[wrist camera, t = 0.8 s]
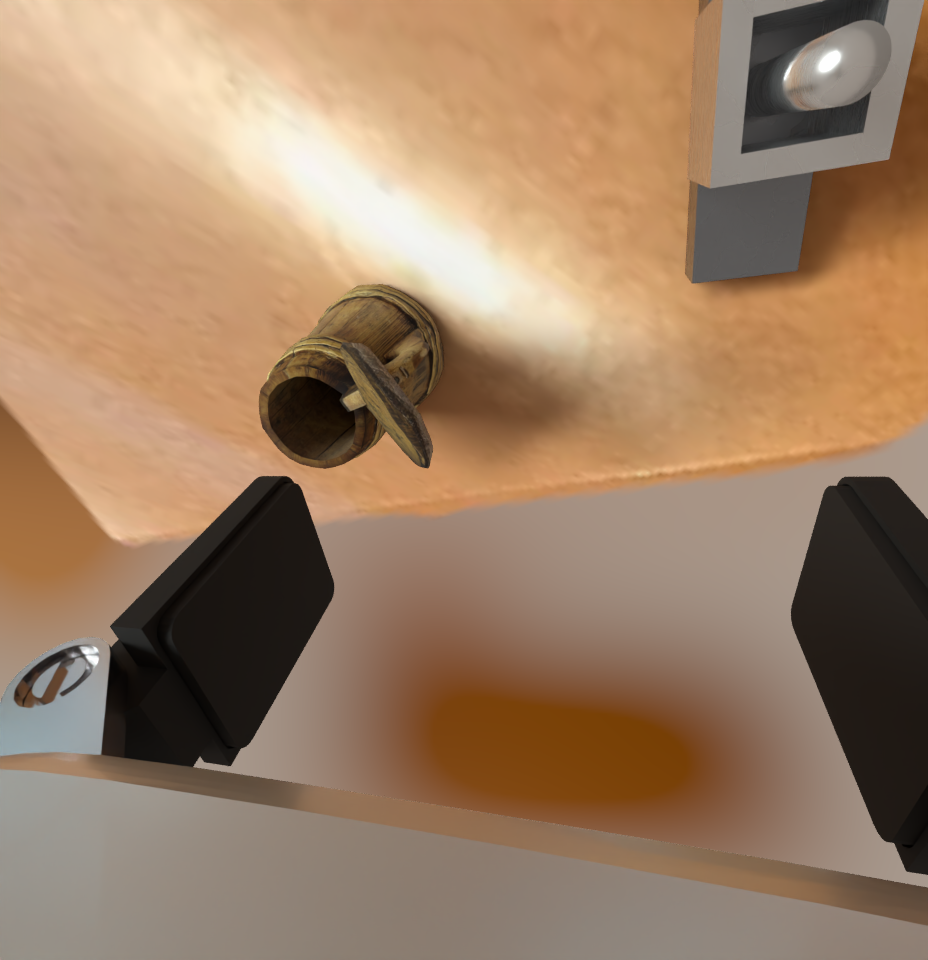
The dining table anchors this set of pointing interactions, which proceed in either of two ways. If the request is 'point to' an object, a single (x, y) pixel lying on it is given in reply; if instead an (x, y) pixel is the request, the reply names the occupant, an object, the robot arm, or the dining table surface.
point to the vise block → (774, 115)
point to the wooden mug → (355, 381)
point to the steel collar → (831, 131)
